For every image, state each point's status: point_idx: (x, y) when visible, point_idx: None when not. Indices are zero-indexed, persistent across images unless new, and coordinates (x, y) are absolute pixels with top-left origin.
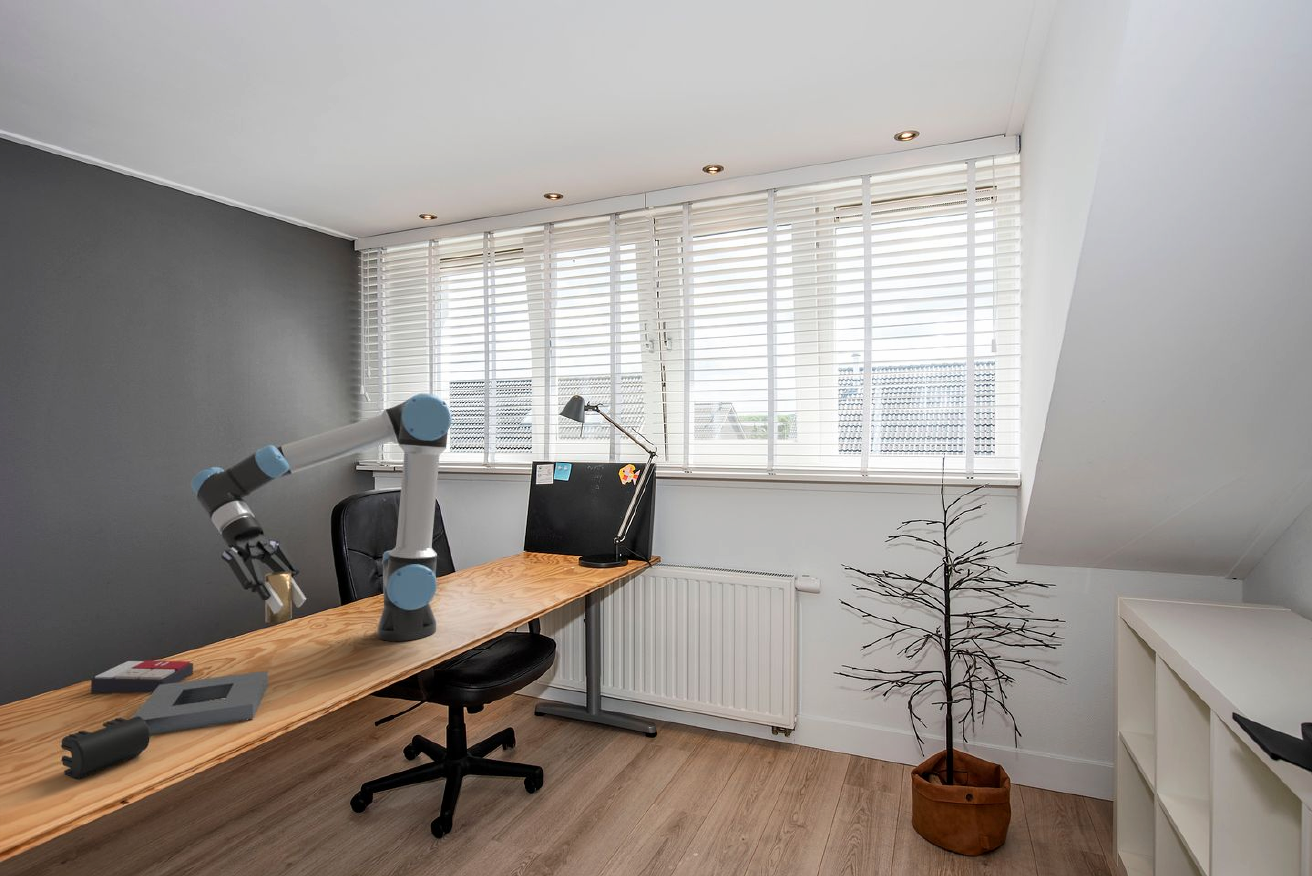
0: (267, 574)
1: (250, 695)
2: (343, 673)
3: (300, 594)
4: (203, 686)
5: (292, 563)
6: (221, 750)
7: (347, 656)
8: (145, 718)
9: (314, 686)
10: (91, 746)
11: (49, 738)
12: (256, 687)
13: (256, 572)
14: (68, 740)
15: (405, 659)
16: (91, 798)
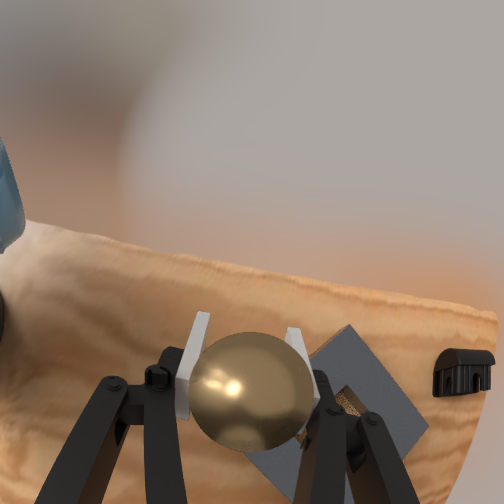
0: (280, 435)
1: (327, 356)
2: (146, 324)
3: (204, 325)
4: None
5: (96, 419)
6: (400, 295)
7: (67, 369)
8: (418, 418)
9: (210, 335)
10: (485, 351)
11: (427, 501)
12: None
13: (340, 449)
14: (490, 379)
15: (79, 259)
16: (472, 324)
